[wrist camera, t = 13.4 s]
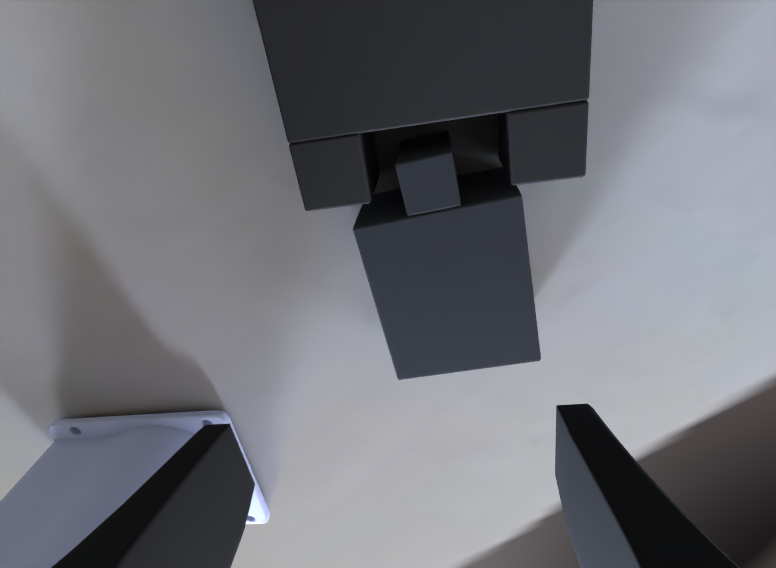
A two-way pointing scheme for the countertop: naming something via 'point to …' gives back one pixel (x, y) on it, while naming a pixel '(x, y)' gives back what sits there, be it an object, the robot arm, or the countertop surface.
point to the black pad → (427, 82)
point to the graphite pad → (449, 265)
